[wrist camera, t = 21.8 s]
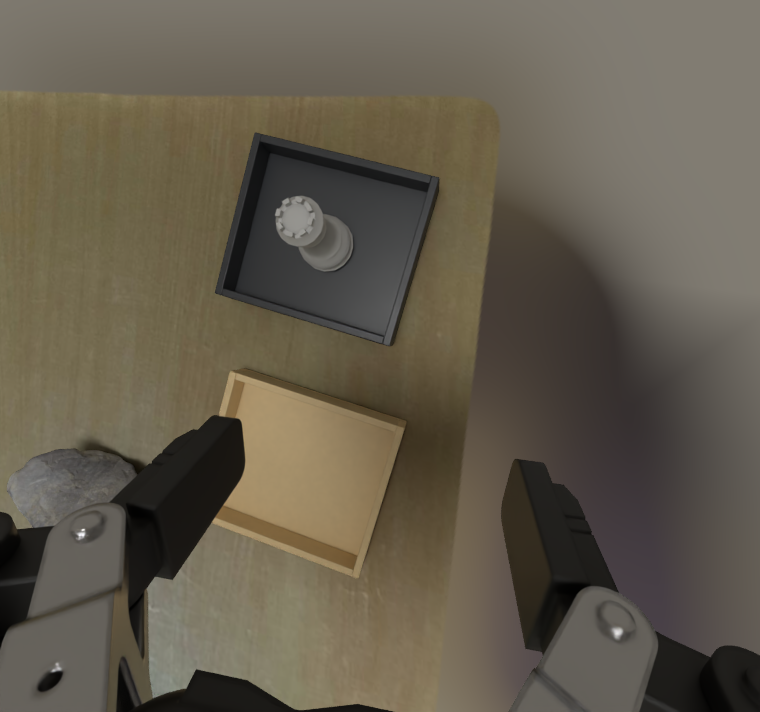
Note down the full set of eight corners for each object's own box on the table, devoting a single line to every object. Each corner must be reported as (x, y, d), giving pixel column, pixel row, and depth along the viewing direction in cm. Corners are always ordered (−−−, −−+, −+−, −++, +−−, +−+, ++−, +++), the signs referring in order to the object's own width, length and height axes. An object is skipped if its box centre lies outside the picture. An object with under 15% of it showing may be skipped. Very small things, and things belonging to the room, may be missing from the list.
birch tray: (406, 420, 32) (404, 428, 30) (363, 561, 34) (358, 579, 31) (244, 368, 34) (229, 370, 32) (209, 503, 35) (192, 516, 33)
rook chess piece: (317, 209, 32) (279, 168, 24) (364, 233, 32) (340, 199, 24) (294, 257, 32) (249, 233, 25) (339, 281, 32) (308, 264, 24)
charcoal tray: (439, 189, 31) (439, 177, 29) (392, 345, 32) (389, 346, 30) (267, 147, 33) (254, 131, 30) (230, 296, 34) (214, 293, 32)
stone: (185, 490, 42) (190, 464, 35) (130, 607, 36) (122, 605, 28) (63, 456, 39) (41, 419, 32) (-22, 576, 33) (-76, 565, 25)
